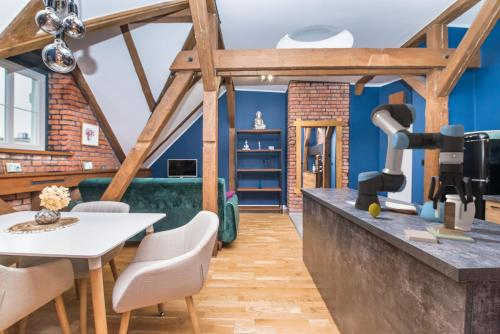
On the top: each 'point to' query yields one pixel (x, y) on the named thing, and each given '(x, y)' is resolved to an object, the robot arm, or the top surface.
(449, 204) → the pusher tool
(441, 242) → the top surface
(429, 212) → the teapot
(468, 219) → the jar
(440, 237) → the tool mat
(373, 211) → the lemon
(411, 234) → the tile
